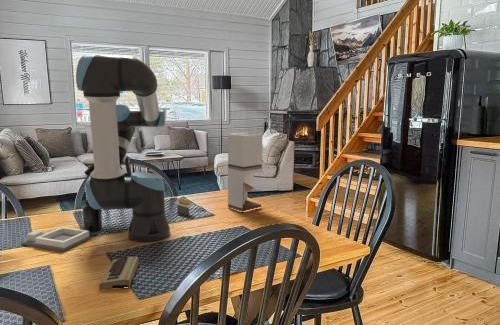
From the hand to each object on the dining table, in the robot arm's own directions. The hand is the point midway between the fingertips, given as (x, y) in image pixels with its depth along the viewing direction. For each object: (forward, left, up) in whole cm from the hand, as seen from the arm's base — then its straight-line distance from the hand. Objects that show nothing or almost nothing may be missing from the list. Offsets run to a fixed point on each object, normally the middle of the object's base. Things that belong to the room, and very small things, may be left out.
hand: (102, 190), depth 156 cm
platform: (-25, -22, -14) cm, 37 cm away
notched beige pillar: (-48, -40, -13) cm, 64 cm away
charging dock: (+1, +23, -13) cm, 27 cm away
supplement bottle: (-2, +8, -13) cm, 16 cm away
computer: (-37, +38, -14) cm, 55 cm away
